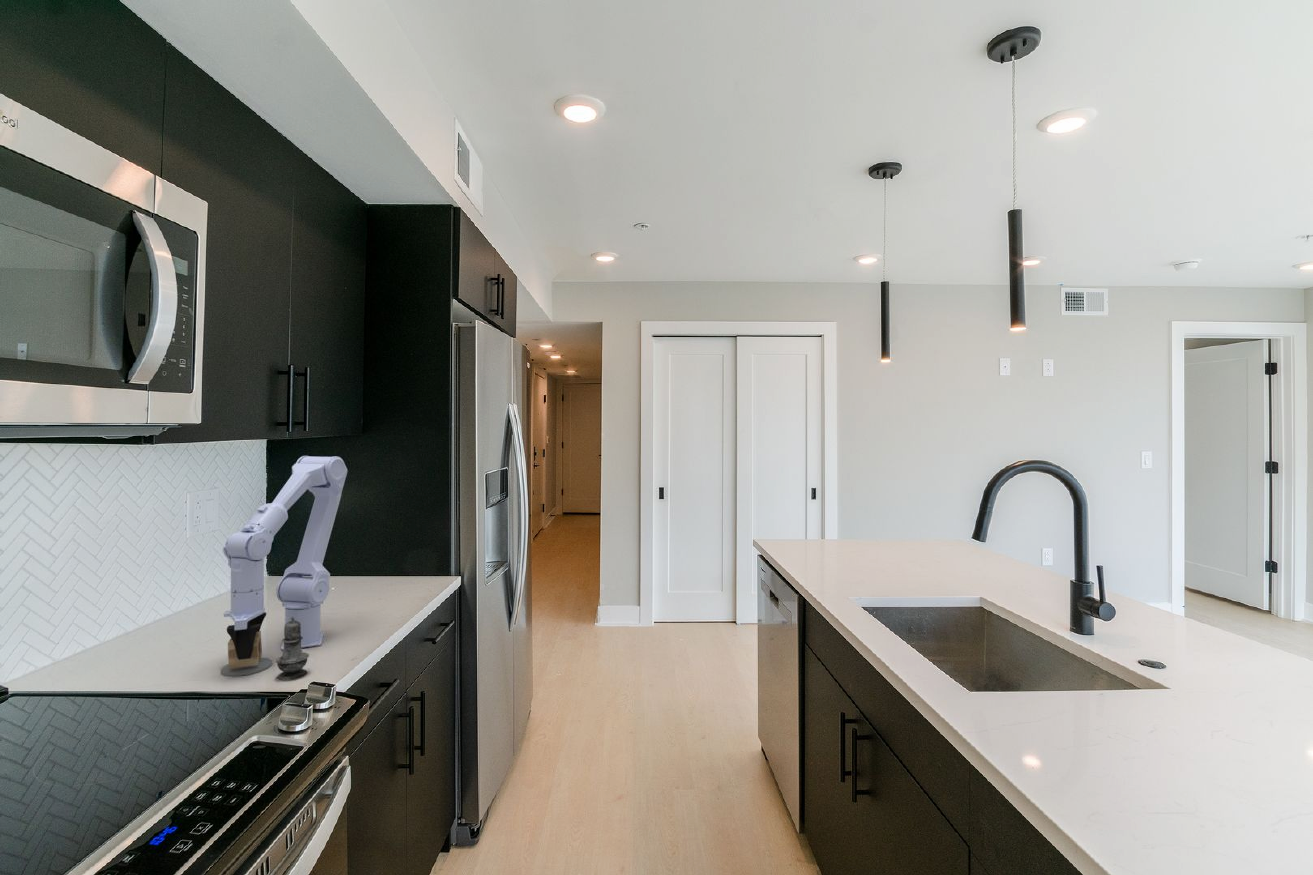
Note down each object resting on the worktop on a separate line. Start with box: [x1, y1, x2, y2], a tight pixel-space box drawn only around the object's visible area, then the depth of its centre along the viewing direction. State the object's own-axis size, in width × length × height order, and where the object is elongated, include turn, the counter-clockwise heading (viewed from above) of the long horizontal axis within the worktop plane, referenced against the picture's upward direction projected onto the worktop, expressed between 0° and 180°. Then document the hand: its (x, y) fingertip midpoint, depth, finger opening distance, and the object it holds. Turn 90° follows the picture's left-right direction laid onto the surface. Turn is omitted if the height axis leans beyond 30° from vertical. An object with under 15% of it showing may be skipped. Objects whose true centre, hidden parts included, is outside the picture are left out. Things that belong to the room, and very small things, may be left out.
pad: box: [220, 657, 274, 677], centre depth 125 cm, size 9×9×1 cm
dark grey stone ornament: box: [275, 617, 310, 681], centre depth 122 cm, size 6×6×12 cm
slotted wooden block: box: [227, 630, 263, 669], centre depth 125 cm, size 5×5×6 cm
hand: (247, 653), depth 125 cm, fingers closed on slotted wooden block, 5 cm apart
